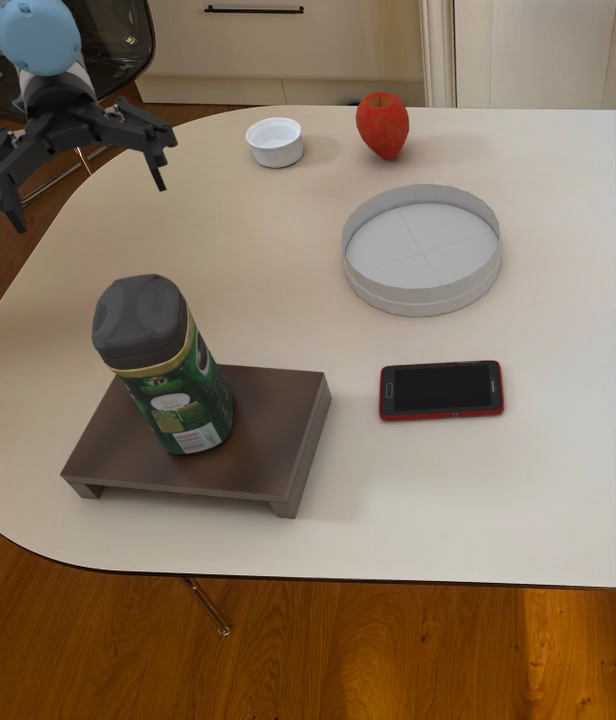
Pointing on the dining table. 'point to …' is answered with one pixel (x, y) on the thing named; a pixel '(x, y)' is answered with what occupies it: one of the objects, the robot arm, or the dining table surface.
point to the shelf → (219, 464)
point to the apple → (383, 123)
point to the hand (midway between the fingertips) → (89, 200)
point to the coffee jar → (163, 362)
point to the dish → (422, 249)
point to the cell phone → (440, 390)
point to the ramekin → (275, 142)
